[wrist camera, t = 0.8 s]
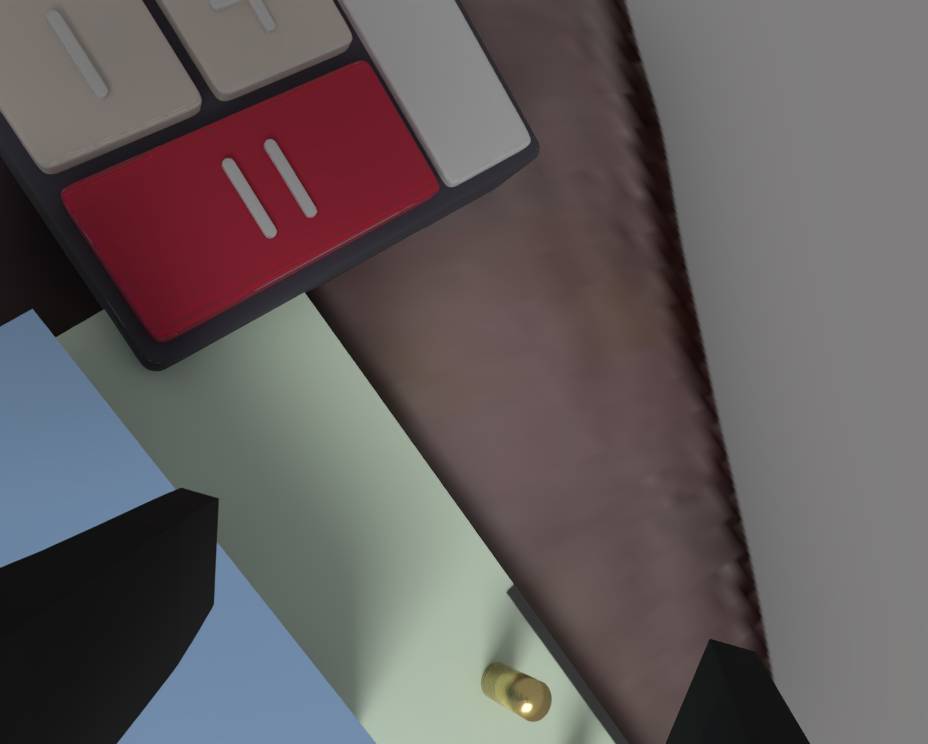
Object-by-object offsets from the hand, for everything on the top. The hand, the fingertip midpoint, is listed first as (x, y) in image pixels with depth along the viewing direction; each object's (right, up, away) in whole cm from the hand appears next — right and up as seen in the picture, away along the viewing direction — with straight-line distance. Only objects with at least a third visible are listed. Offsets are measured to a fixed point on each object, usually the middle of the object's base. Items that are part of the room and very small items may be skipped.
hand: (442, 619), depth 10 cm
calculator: (-7, +12, +15) cm, 20 cm away
